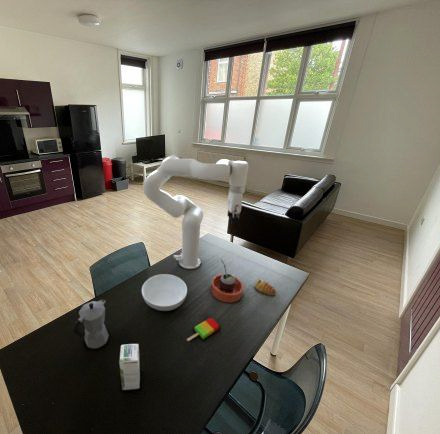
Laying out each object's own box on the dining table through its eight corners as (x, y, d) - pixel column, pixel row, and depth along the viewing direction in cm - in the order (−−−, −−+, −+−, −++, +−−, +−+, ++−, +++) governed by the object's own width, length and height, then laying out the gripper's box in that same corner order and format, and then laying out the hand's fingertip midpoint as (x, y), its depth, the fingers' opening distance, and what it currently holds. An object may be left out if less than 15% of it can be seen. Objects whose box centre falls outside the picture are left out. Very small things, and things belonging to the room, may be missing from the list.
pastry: (277, 291, 117) (278, 285, 115) (271, 298, 113) (273, 292, 111) (258, 282, 123) (260, 276, 121) (252, 288, 119) (253, 282, 117)
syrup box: (123, 372, 82) (119, 344, 75) (140, 371, 82) (138, 342, 76) (122, 390, 77) (118, 361, 70) (140, 389, 77) (138, 360, 71)
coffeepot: (100, 321, 101) (95, 288, 93) (117, 331, 96) (113, 298, 89) (70, 350, 89) (61, 315, 82) (87, 363, 85) (80, 327, 77)
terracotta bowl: (213, 302, 111) (214, 294, 108) (209, 281, 124) (210, 273, 122) (245, 303, 110) (246, 295, 108) (237, 282, 123) (239, 274, 121)
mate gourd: (233, 296, 113) (237, 271, 107) (216, 293, 115) (219, 268, 109) (233, 286, 120) (237, 261, 113) (217, 283, 122) (220, 259, 115)
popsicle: (220, 328, 98) (220, 325, 97) (191, 347, 90) (191, 344, 89) (210, 319, 102) (211, 316, 101) (182, 336, 94) (182, 333, 94)
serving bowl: (137, 290, 118) (137, 279, 115) (177, 281, 124) (177, 270, 121) (148, 322, 100) (148, 310, 97) (194, 310, 106) (194, 299, 103)
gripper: (225, 182, 121) (222, 213, 128) (232, 194, 105) (228, 228, 112) (240, 182, 120) (236, 213, 127) (249, 194, 105) (244, 228, 112)
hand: (232, 220), depth 120 cm, fingers open, 9 cm apart
